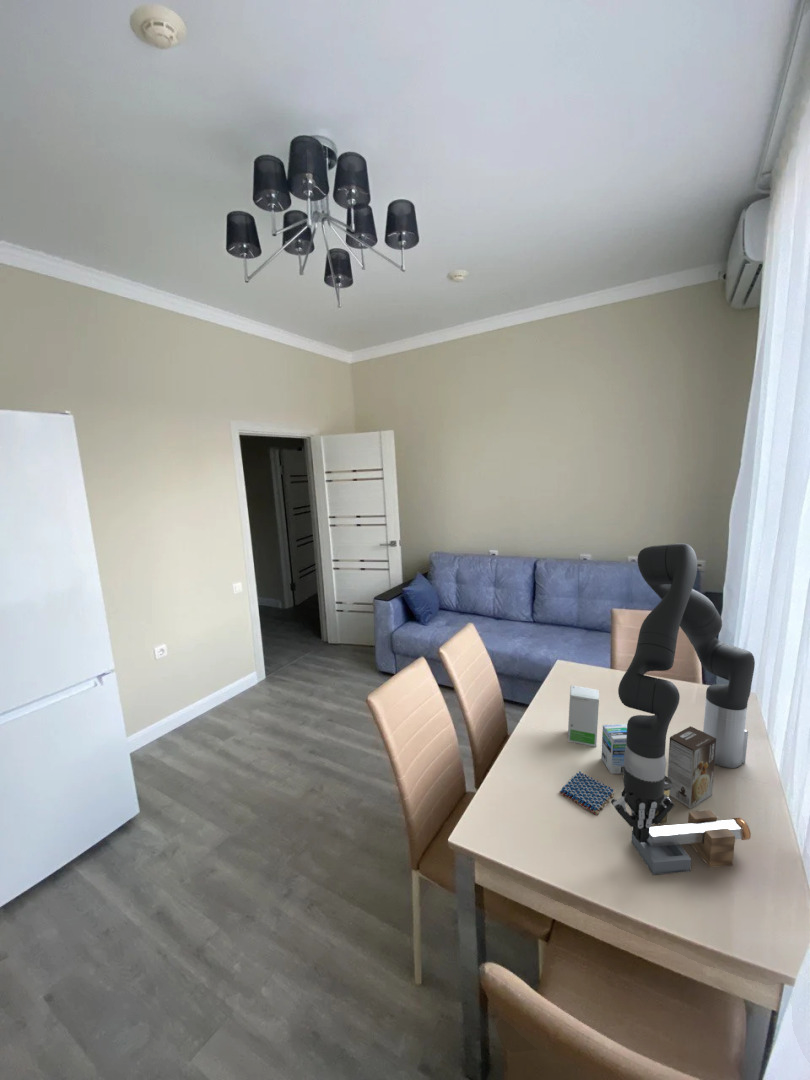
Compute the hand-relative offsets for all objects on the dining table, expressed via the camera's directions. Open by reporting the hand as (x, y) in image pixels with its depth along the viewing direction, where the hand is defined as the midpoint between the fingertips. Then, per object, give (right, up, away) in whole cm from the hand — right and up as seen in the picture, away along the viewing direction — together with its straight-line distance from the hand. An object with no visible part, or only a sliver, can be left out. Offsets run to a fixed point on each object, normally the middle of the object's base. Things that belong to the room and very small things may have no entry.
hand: (640, 839), depth 94 cm
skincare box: (+4, +3, +41) cm, 42 cm away
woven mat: (-3, -2, +19) cm, 20 cm away
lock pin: (+12, -1, +1) cm, 12 cm away
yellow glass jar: (+10, -2, +11) cm, 15 cm away
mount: (+16, -4, +1) cm, 16 cm away
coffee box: (+22, -1, +17) cm, 28 cm away
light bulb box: (+11, +1, +29) cm, 31 cm away
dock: (+5, -4, +1) cm, 6 cm away
